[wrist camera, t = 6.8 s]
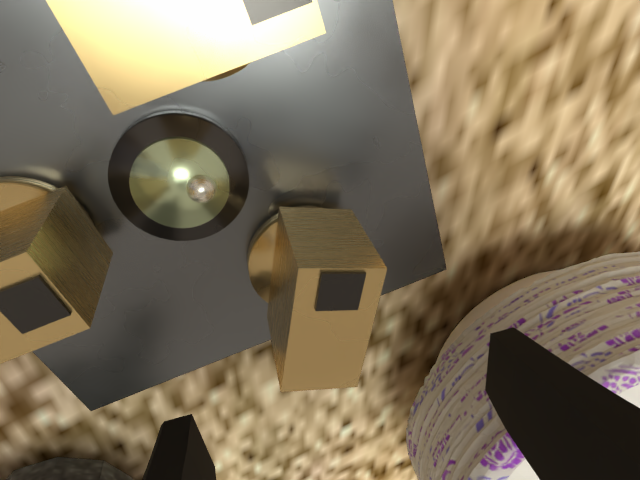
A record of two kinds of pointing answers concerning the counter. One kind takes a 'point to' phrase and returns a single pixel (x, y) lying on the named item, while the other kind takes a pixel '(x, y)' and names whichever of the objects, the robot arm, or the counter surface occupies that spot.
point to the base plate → (213, 182)
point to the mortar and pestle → (69, 470)
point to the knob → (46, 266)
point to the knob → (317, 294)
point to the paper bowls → (547, 330)
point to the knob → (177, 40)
